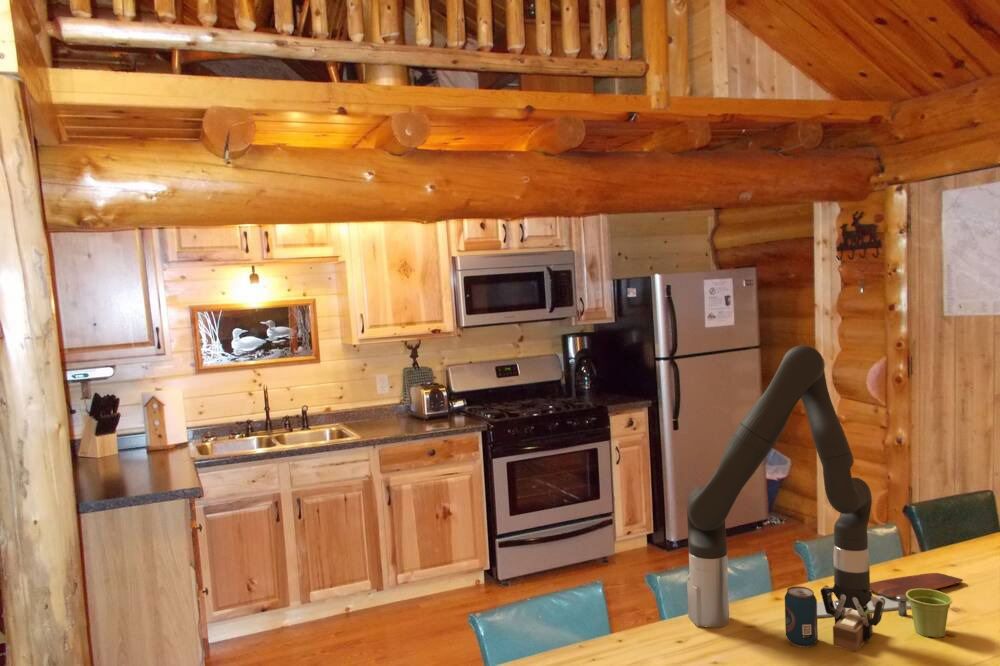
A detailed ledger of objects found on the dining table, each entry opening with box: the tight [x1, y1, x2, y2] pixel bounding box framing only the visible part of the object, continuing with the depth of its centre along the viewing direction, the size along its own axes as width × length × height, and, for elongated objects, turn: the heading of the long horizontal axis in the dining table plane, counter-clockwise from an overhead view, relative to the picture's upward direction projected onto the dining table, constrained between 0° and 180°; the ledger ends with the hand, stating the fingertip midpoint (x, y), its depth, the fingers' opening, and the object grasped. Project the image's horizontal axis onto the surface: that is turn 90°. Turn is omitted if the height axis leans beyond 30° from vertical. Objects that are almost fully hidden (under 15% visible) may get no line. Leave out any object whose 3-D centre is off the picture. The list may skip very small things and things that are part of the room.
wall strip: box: [817, 595, 911, 619], centre depth 188 cm, size 26×7×1 cm, turn 97°
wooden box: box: [832, 609, 873, 653], centre depth 172 cm, size 12×5×5 cm, turn 138°
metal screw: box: [835, 599, 846, 616], centre depth 181 cm, size 3×3×5 cm
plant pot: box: [906, 589, 953, 639], centre depth 173 cm, size 9×9×9 cm
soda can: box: [784, 585, 819, 648], centre depth 171 cm, size 7×7×12 cm
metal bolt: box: [896, 594, 909, 617], centre depth 182 cm, size 3×3×5 cm
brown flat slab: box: [870, 572, 964, 598], centre depth 197 cm, size 27×10×2 cm, turn 110°
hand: (853, 636), depth 172 cm, fingers closed on wooden box, 5 cm apart
